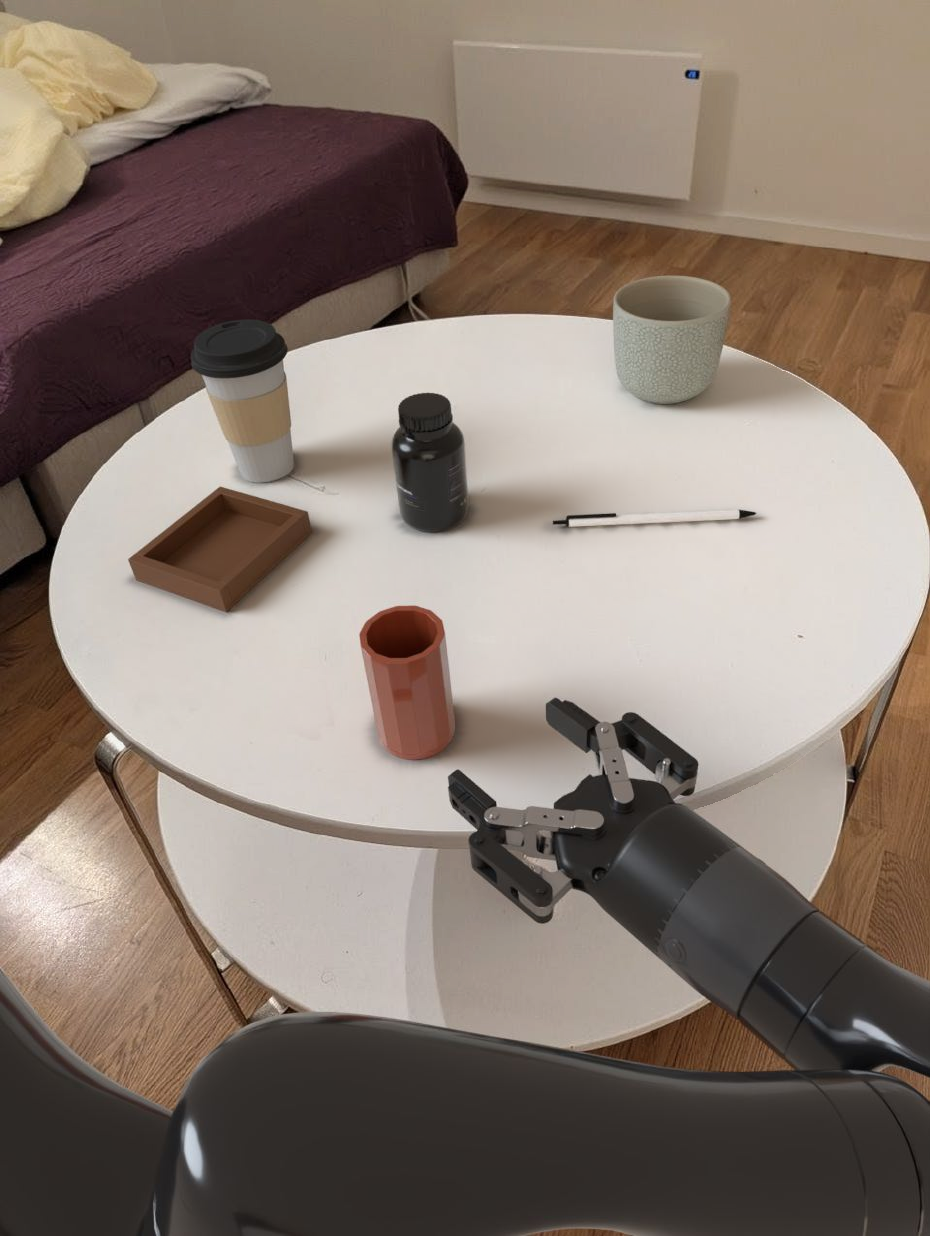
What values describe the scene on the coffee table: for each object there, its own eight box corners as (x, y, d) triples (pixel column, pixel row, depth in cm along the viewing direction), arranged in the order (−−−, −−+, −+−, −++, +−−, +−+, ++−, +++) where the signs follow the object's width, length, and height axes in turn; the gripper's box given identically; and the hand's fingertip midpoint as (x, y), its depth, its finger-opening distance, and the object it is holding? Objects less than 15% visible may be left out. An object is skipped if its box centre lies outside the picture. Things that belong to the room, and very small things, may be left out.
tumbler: (431, 770, 67) (417, 673, 60) (363, 743, 69) (342, 647, 62) (469, 716, 70) (460, 619, 64) (403, 692, 73) (388, 596, 66)
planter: (587, 392, 107) (589, 301, 100) (655, 355, 113) (662, 266, 105) (673, 428, 100) (682, 332, 92) (741, 386, 105) (754, 293, 98)
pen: (552, 523, 88) (552, 514, 87) (755, 514, 87) (757, 504, 86) (553, 529, 87) (553, 519, 86) (757, 520, 86) (759, 510, 85)
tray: (226, 612, 81) (219, 591, 80) (135, 580, 86) (127, 559, 84) (312, 532, 90) (308, 511, 88) (225, 506, 94) (219, 486, 92)
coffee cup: (277, 436, 104) (247, 308, 94) (328, 465, 99) (303, 332, 89) (206, 471, 99) (167, 340, 89) (256, 504, 94) (220, 368, 84)
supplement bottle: (389, 527, 89) (372, 418, 81) (416, 489, 94) (403, 382, 86) (454, 539, 87) (444, 428, 79) (479, 500, 92) (472, 390, 84)
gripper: (615, 1028, 49) (423, 842, 58) (775, 867, 55) (578, 723, 65) (622, 958, 44) (410, 767, 53) (796, 790, 50) (580, 646, 60)
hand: (503, 743), depth 59 cm, fingers open, 8 cm apart
